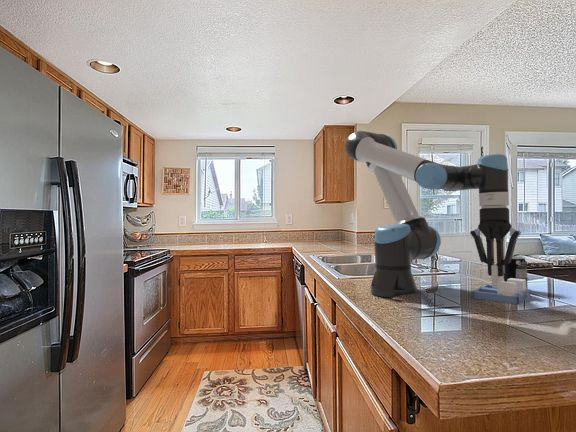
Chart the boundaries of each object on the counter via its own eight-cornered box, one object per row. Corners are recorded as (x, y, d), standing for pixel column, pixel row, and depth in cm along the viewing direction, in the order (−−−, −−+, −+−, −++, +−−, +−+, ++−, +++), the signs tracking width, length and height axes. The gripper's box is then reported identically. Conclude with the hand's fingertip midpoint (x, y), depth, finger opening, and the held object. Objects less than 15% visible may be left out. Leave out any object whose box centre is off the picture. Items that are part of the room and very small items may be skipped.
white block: (497, 300, 98) (497, 282, 98) (501, 297, 100) (500, 281, 100) (513, 302, 95) (513, 284, 95) (517, 300, 97) (516, 282, 97)
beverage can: (504, 290, 116) (503, 255, 116) (527, 292, 112) (526, 256, 112) (503, 294, 110) (502, 257, 110) (527, 296, 106) (526, 258, 107)
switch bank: (471, 301, 101) (471, 290, 101) (486, 294, 111) (486, 283, 111) (519, 309, 93) (518, 296, 93) (530, 299, 102) (530, 288, 102)
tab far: (507, 296, 102) (507, 279, 102) (510, 294, 105) (510, 278, 105) (523, 298, 100) (522, 281, 100) (526, 296, 102) (525, 279, 102)
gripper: (465, 208, 102) (468, 286, 102) (516, 206, 93) (519, 292, 92) (474, 208, 107) (476, 282, 107) (523, 206, 98) (525, 288, 97)
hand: (496, 287), depth 100 cm, fingers closed
